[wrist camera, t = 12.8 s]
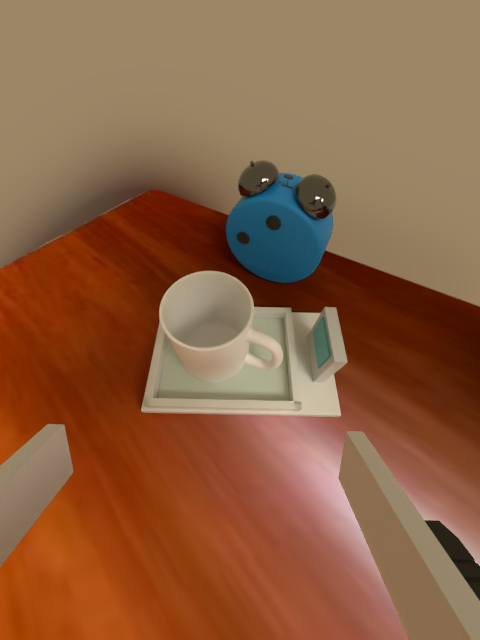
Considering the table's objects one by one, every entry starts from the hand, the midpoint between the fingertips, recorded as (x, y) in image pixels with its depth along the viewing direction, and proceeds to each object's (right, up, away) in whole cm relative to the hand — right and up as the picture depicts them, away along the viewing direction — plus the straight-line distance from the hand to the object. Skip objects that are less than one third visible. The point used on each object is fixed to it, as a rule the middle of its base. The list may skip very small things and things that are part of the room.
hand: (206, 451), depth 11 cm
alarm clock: (+6, +14, +27) cm, 31 cm away
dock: (+2, +1, +19) cm, 19 cm away
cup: (0, +2, +18) cm, 18 cm away
